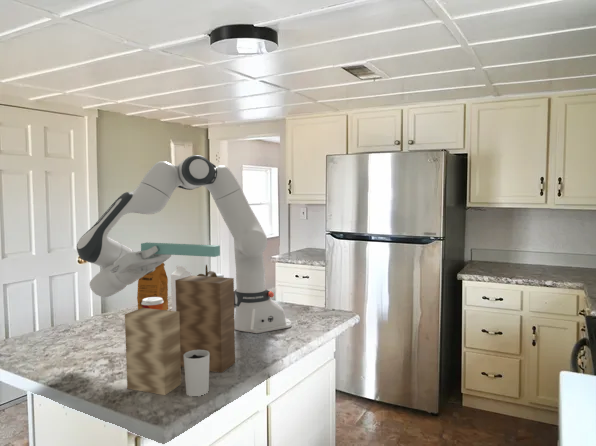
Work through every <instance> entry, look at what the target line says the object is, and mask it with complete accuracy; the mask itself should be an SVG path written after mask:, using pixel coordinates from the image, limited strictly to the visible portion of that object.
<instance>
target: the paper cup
mask: <svg viewBox="0 0 596 446" xmlns="http://www.w3.org/2000/svg"><path fill="white" fill-rule="evenodd" d="M163 302H164V301H163V299H162V298H161V297H149V298H144V299H143V300H142V303H141V304H142V308H149V309H159V310H163Z"/></svg>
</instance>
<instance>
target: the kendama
mask: <svg viewBox="0 0 596 446" xmlns="http://www.w3.org/2000/svg"><path fill="white" fill-rule="evenodd" d="M216 274H217V273H216V272H215V271H214V270H213V271H212V270H210V271H209V270H208V264H205V274H204V273H198V274H196V276H207V277H217V275H216Z"/></svg>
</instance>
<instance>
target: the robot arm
mask: <svg viewBox="0 0 596 446" xmlns="http://www.w3.org/2000/svg"><path fill="white" fill-rule="evenodd" d="M200 187H203V188H205V189H207V190H208V191H209V193H210V195H211V197H212V199H213V201H214V203H215V204H216V207H217V208H218V211H219V213H220V215H221V217H222V219H223V221H224V223H225V224H226V226H227V228H228V230H229V232H230V234H231V236H232V237H233V248H234V263H235V275H236V276H235V278H236V279H235V280H236V282H235V283H236V286H235V287H236V288H235V290H236V291H235V290H234V291H235V304H234V305H235V313H234V326H235V331H239V332H248V333H254V334H261V333H266V332H272V331H276V330H282V329H287V328H291V327H292V322H291V320H290V319H289V318H287V317H286V313H285V310H284V308H283V307H282V306H281V305H279V304H278V303H277V302H275V301H274V300H273V299H271V298H273V297H274V296H275V294H274V292H272V291H270V290H268V289H266V267H265V260H264V252H265V251H266V249H267V247H268V238H267V235H266V233H265V231H264V228H263V227H262V225H261V223H260V222H259V220H258V218H257V216H256V215H255V213H254V211H253V208H251V206H250V204H249V202H248V200H247V197H246V196H245V193H244V191H243V190H242V188H241V185H240V184H239V182H238V180H237V178H236V177H235V175H234V174H233V172H232V171H231V170H230V168H229V167H227V166H226V165H215V163H212V162H211V161H210V160H208V158H206V157H205V156H202V155H197V154H195V155H190V156H188V157H187V158H185V159H183V160H182V161H180V163H178V164H177V165H176V164H172V163H170V162H168V161H164V160H163V161H162V160H160V161H157V162H155V164H153V166H151V168H150V169H149V170H148V171H147V173H145V175H144V177H143V178H142V179H141V181H140V183H139V184H138V186H137V187H136V188H135V189H134V190H132V191H130V192H129V191H126V192H124V193H122V194H121V195H120V196H119V197H118V198H117V199H116V200H115V201H114V202H113V203H112V204H111V205H110V206H109V207H108V209H106V211H105V212H104V213H103V214H102V216H101V217H99V219H98V220H97V221H96V222H95V223H94V225H92V226H91V227H90V229H88V230H87V231H86V232H85V233H84V234H83V235H82V236H81V237H80V238H79V239H78V242H77V244H76V251H77V255H78V256H79V258H80V260H82V261H85V262H88V263H91V264H93V265H96V266H98V267H101V268H100V269H101V270H99V272H98V273H97V274H96V275H95V276H94V277H92V278H91V280H89V287H90V288H89V289H90V290H91V292H92V293H94V294H95V295H96V296H99V297H100V298H108V297H112V296H114V295H116V294H118V293H119V292H122V291H123V290H124V289H125V288H126V287H127V286H129V285H131V284H133V283H135V282H138V280H139V279H140V278H142V277H143V276H144V275H146V274H149V273H151V272H153V271H154V270H155V268H156V267H157V266H159V265H161V264H162V263H165V262H166V261H167V260H169V259H170V258H171V257H172V255H167V254H154V253H157V252H158V251H160V249H159V247H158V246H154V247H152V248H150V249H148V250H144V251H141V250H139V251H133V249H132V248H130V247H129V246H127V245H125V244H123V243H122V242H119V241H117V240H115V239H113V238H111V237H109V236H108V234H109V232H110V231H111V230H112V229H114V227H115V226H116V224H117V223H118V222H119V221H120V220H121V218H122V217H124V216H125V215H127V214H132V213H133V214H142V215H155V214H158V213H160V212H162V211H163V209H164V208H165V207H166V205H167V203H168V202H169V201H170V199H171V196H172V195H173V193H174V192H175V190H176V189H177V188H179V189H183V190H186V191H187V190H189V191H191V190H196V189H199V188H200Z"/></svg>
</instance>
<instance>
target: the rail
mask: <svg viewBox="0 0 596 446" xmlns="http://www.w3.org/2000/svg"><path fill="white" fill-rule="evenodd" d="M154 246H158V247H159V249H160V251H158V252H157V253H154V254H167V255H171V256H172V255H173V256H174V255H175V256H190V257H191V256H192V257H210V258H216V257H219V256H221V245H220V244H219V245H217V244H195V243H191V244H189V243H173V242H172V243H170V242H168V243H167V242H141V243H140V251H144V250H148V249H150V248H152V247H154Z"/></svg>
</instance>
